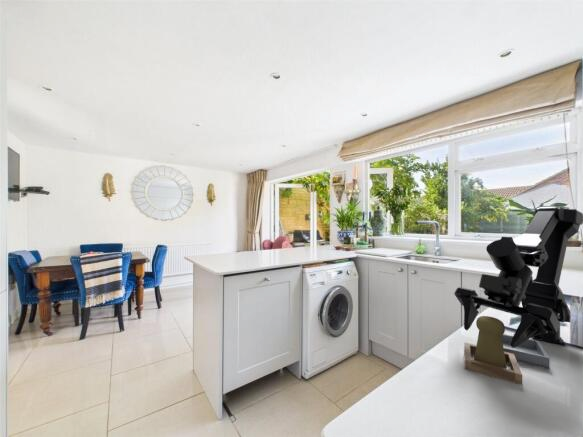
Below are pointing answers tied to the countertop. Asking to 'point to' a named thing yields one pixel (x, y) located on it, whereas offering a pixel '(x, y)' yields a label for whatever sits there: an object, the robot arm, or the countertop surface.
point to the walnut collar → (493, 366)
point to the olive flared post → (490, 341)
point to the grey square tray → (527, 352)
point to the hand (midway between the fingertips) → (487, 337)
